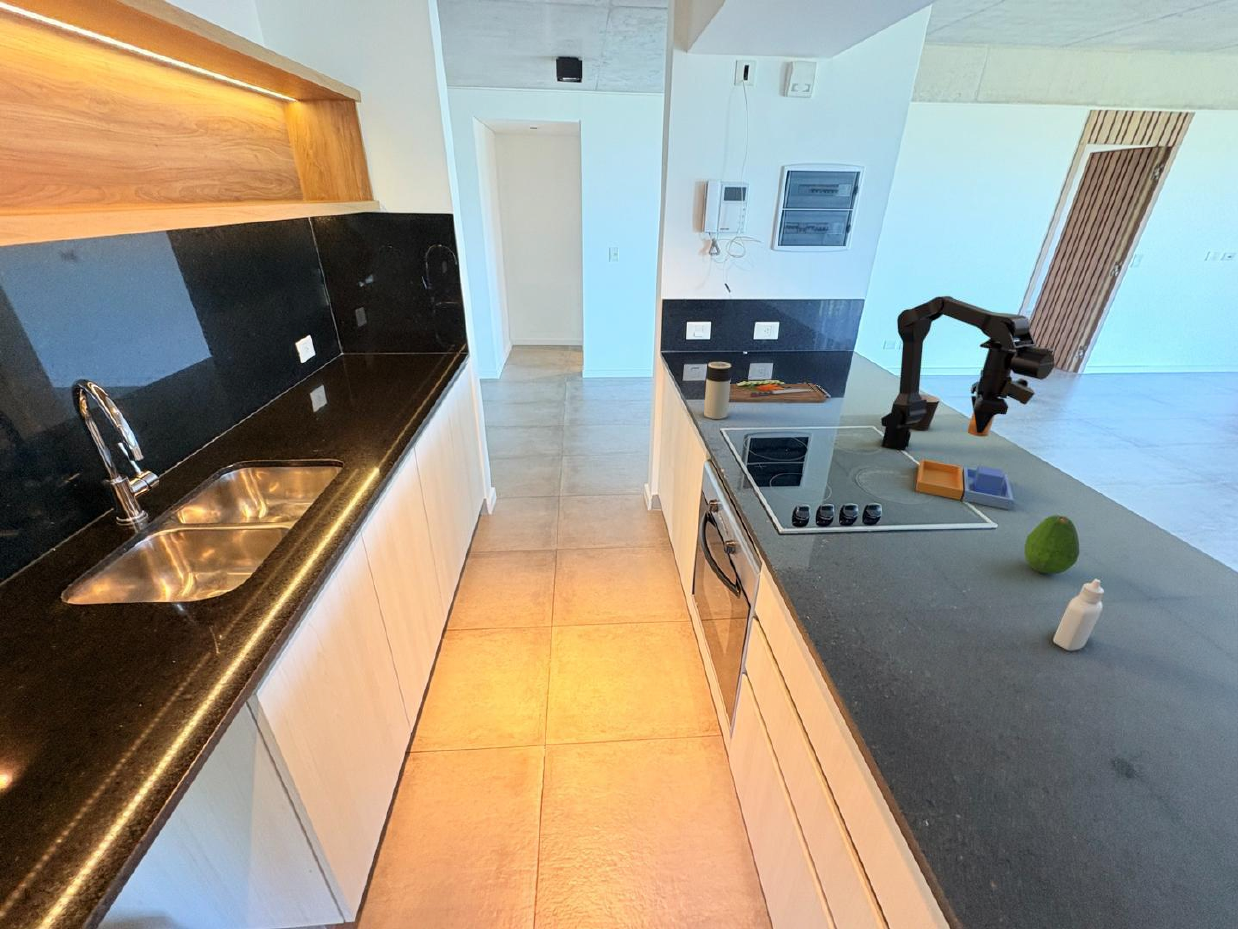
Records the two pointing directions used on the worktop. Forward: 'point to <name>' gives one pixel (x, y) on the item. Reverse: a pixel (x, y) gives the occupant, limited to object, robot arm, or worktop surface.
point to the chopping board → (775, 392)
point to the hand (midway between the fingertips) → (978, 429)
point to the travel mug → (717, 390)
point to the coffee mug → (927, 412)
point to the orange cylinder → (973, 429)
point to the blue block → (988, 480)
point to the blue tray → (999, 501)
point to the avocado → (1052, 545)
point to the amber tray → (940, 479)
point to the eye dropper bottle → (1080, 617)
